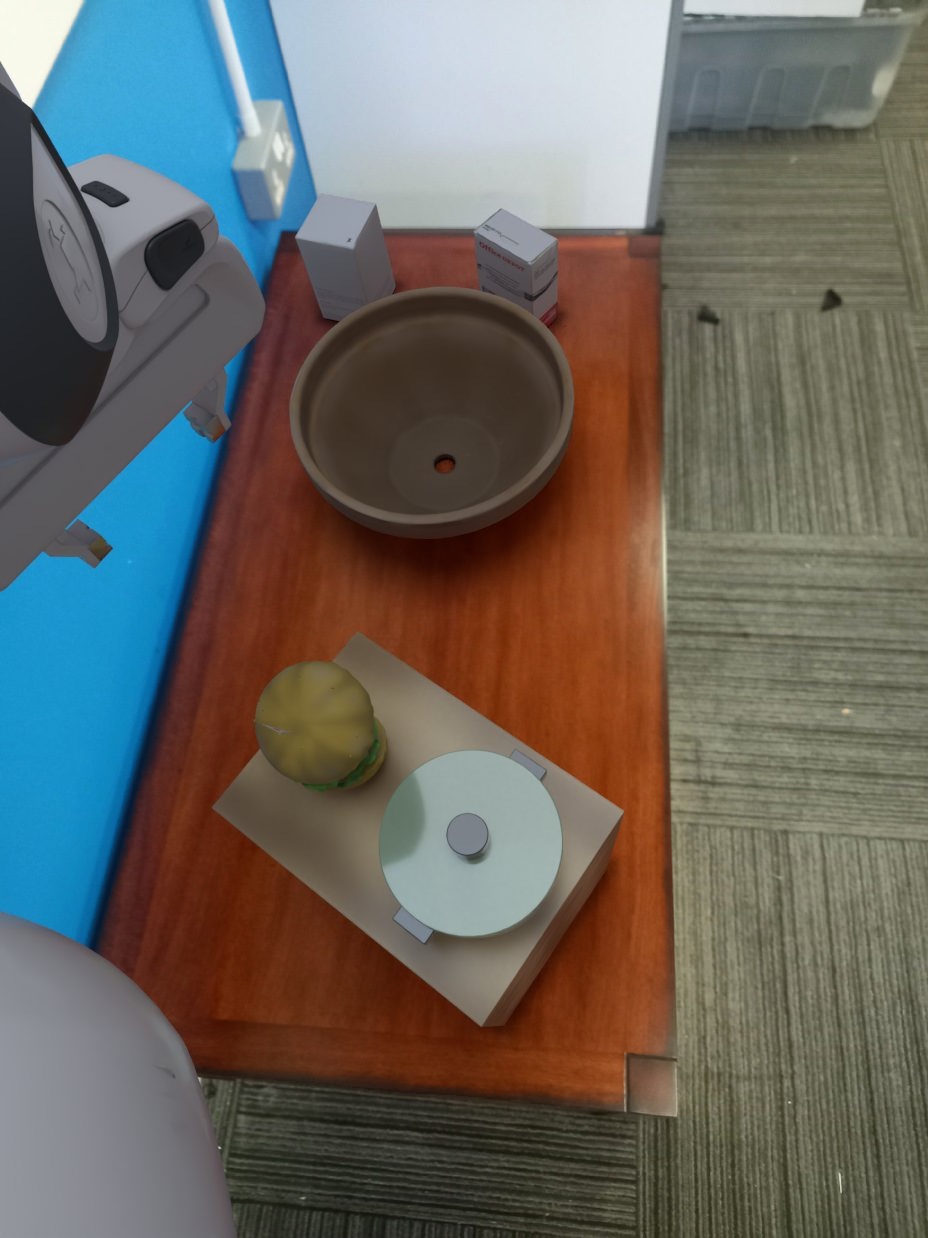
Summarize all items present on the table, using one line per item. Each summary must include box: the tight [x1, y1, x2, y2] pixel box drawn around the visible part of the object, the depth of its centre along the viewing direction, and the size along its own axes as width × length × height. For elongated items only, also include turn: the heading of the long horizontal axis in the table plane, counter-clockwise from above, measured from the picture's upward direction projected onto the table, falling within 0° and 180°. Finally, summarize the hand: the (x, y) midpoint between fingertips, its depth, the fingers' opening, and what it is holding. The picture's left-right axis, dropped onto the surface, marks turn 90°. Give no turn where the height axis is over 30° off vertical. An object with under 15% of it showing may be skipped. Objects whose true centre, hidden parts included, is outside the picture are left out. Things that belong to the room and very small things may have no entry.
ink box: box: [473, 207, 559, 328], centre depth 102 cm, size 8×5×12 cm, turn 48°
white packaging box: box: [294, 193, 397, 322], centre depth 105 cm, size 7×7×13 cm
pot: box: [379, 749, 563, 946], centre depth 54 cm, size 12×11×8 cm
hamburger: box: [252, 660, 387, 793], centre depth 56 cm, size 8×7×12 cm
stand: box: [211, 630, 626, 1028], centre depth 70 cm, size 16×23×24 cm
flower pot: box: [288, 286, 575, 540], centre depth 93 cm, size 28×28×13 cm
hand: (156, 489), depth 49 cm, fingers open, 8 cm apart
